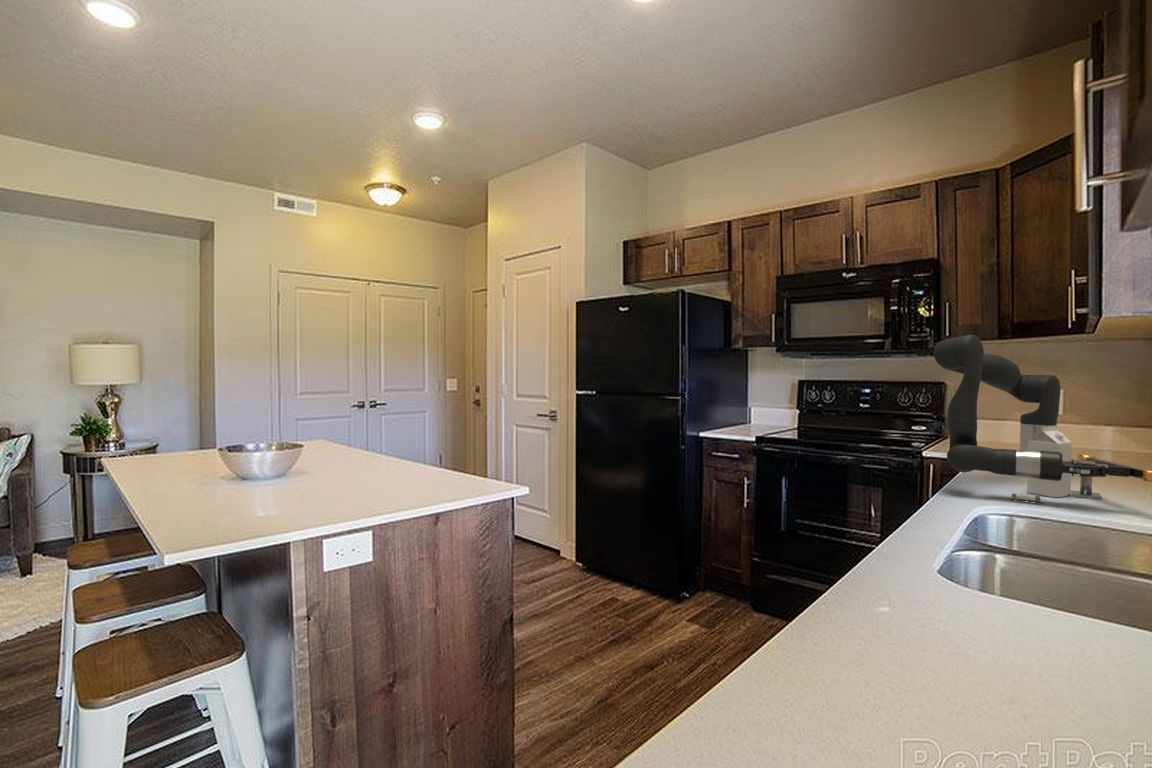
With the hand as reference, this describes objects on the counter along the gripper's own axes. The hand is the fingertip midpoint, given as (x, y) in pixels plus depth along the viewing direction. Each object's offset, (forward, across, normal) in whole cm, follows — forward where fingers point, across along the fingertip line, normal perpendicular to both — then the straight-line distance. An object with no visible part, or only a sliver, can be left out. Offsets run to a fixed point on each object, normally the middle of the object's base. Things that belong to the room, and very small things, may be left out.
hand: (1129, 472), depth 138 cm
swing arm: (-2, +7, +1) cm, 7 cm away
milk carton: (-15, +14, +10) cm, 23 cm away
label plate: (-20, +2, +10) cm, 22 cm away
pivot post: (-7, +17, +10) cm, 21 cm away
